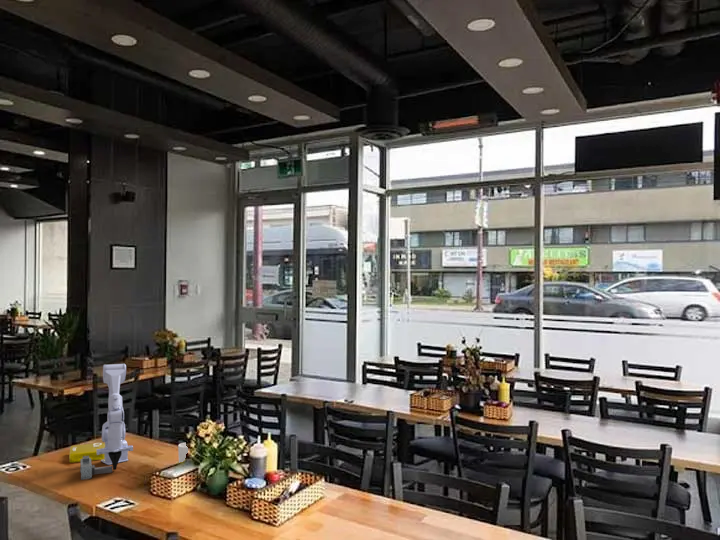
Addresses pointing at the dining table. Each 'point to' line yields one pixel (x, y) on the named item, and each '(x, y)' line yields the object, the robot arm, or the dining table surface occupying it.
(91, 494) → the dining table surface
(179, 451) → the white cup
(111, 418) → the robot arm
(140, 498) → the dining table surface
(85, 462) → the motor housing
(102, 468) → the plug
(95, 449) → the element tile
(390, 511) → the dining table surface
